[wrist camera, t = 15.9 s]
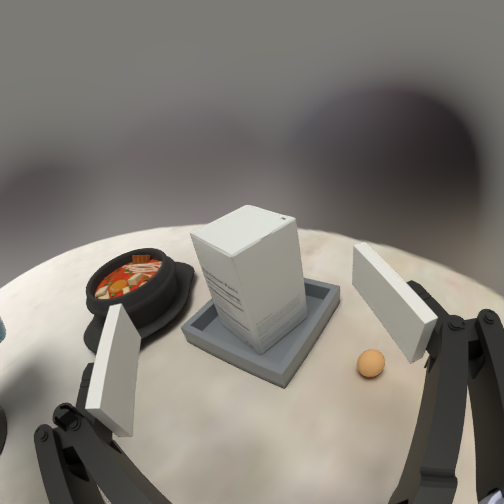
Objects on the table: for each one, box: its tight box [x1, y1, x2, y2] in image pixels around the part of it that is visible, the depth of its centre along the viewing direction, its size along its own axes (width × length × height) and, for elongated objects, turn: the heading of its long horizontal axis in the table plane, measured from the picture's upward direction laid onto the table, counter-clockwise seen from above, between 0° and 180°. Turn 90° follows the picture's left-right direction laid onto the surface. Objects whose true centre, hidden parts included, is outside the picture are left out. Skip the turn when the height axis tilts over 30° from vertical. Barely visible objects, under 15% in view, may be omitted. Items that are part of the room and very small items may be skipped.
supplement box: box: [190, 205, 308, 355], centre depth 35 cm, size 9×9×15 cm
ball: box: [357, 349, 385, 377], centre depth 28 cm, size 3×3×3 cm
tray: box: [181, 278, 340, 389], centre depth 38 cm, size 16×16×3 cm
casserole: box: [84, 248, 195, 354], centre depth 45 cm, size 25×19×8 cm
